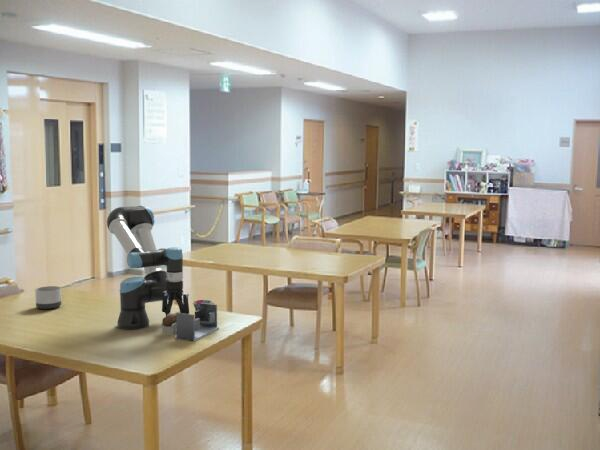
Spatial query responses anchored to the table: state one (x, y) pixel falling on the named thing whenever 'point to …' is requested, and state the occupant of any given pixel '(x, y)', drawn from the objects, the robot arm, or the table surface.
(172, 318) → the brown cylinder
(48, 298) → the planter
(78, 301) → the table surface
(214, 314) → the brackets
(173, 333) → the rest blocks
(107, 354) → the table surface
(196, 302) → the mug
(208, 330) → the wall board
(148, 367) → the table surface
